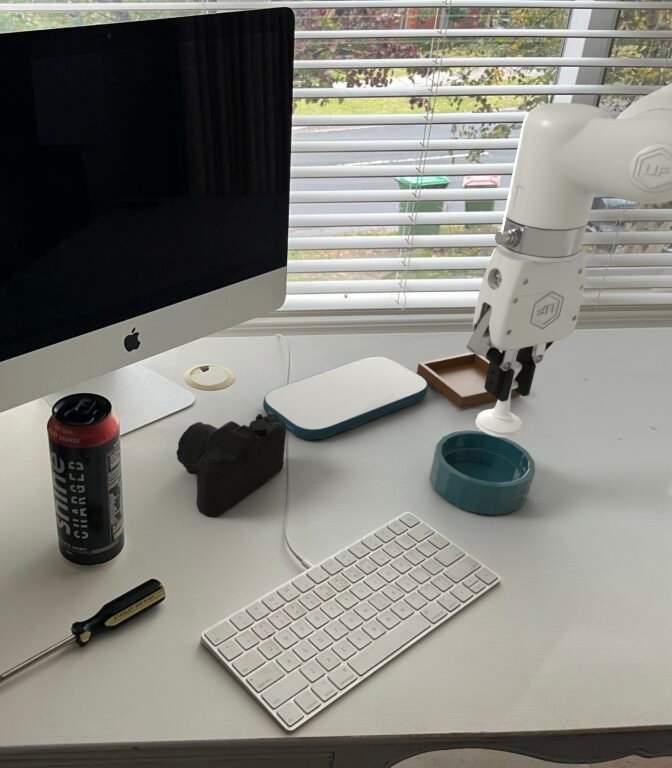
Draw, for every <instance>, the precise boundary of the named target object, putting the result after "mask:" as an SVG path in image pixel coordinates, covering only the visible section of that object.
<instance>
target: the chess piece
mask: <svg viewBox="0 0 672 768" xmlns="http://www.w3.org/2000/svg"><path fill="white" fill-rule="evenodd" d="M517 354H518V349H516V350H515V353H514V357H513V361H512V365H511V367H510V368H512V369H513V370H514V376H513V381H512V385H511V390H512V389H516V388H517V387H518V382H517V381H516V380H514V379H515V378H516V376H517V374H518V373H519V372H520V370H521V369H522V365H521V364H520V363H519V362H517V361H516V357H517ZM511 390H510V394H509V398H508V400H507V401H503V402H501V401H500V400H498V401H496V404H495V406H494V408H489V409H485V410H482V411H480V412H479V413H478V415H477V416H476V418H475V425H476V427H477V428H478V430H479V431H483V432H485V433H487V434H489V435H492V436H496V437H502V438H507V439H509V438H513V437H514V438H515V437H517V436H519V435H520V434H521V433H522V430H523V422H522V420H521V418H520V417H518V416H517V415H516V414H514V413H512V412H511V399H512V398H511Z"/></svg>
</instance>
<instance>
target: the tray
mask: <svg viewBox="0 0 672 768" xmlns="http://www.w3.org/2000/svg"><path fill="white" fill-rule="evenodd" d="M489 362H490V361H488V360H487V359H486V358H485V357H484V356H480V355H476V354H474V353H473V352H471V351H470V352H466V353H460V354H456V355H452V356H445V357H441V358H436V359H431V360H427V361H422V362H418V364H417V369H416V374H418V375H420V376H421V377H423V378H424V379H425V380H426V382H427V385H428V386H430V387H431V388H433V390H435V391H436V392H438V393H439V394H440V395H441V396H442V397H444V398H445V399H446V400H447V401H448V402H450V403H451V404H453V405H454V406H455V407H456V408H457V409H458V410H464V409H468V408H473V407H477V406H481V405H485V404H490V403H495V402H497V401H498V399H497V398H496V397H494V396H493V395H491V394H490V393H489V392H487V391H486V390H485V387H484V386H485V381H486V377H487V372H488V367H489ZM520 396H521V395H520V394H518V393H517V392H515V391H514V390H511V399H512V398H516V397H520Z"/></svg>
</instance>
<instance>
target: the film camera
mask: <svg viewBox="0 0 672 768" xmlns="http://www.w3.org/2000/svg"><path fill="white" fill-rule="evenodd" d="M286 436H287V429H286V424H285V422H284V421H282V420H281V419H279V418H278V416H277V415H274V414H269V415H268V414H267V415H266V416H263V414H262V413H258V414H257V415H256V416H255V420H251V421H250V423H249V425H245V424H243V425H240V424H238V423H237V422H235V421H232V420H231V421H228V422H226V423H224V424H223V425H221V426H220V427H219V428H217V427H216V426H213V425H211V424H209V423H204V422H201V421H197V422H195V423H193V424H191V425H189V426H188V428H186V430H185V431H184V432H183V433H182V434H181V436H180V438H179V440H178V442H177V446H178V447H177V450H176V456H177V457H176V458H177V460H178V462H179V463H180V464H181V465H182V466H183V467H184V468H185V471H186V472H187V473H188V474H189V475H196V502H195V504H196V507H197V510H198V512H199V513H200V514H202V515H204V516H206V517H210V518H214V517H215V518H216V517H219V516H221V515H222V514H225V512H227V511H229V510H231V509H232V508H234V506H236V505H238V504H239V503H240V502H241V501H243V500H244V499H246V498H247V497H248V496H250V495H252V494H253V493H254V492H256V491H257V490H258V489H260V488H261V487H262V486H264V485H265V484H267V483H268V482H269V481H270V480H272V478H274V477H276V475H278V474H279V473H280V472H281V471H282V470H283V468H284V463H285V462H284V458H285V450H286V448H285V447H286V439H287V437H286Z"/></svg>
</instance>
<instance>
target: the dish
mask: <svg viewBox="0 0 672 768" xmlns="http://www.w3.org/2000/svg"><path fill="white" fill-rule="evenodd" d="M535 472H536V464H535V460H534V458H533V457H532V455H531V454H530V453H529V451H528V450H527V449H525V448H524V447H523V446H522V445H520V444H519V443H517V442H516V441H513V440H512V439H509V438H502V437H496V436H492V435H489V434H487V433H485V432H483V431H481V430H474V429H473V430H472V429H467V430H458V431H453V432H450V433H447V434H445V435H443V436H441V438H439V440H438V441H437V442H436V444H435V448H434V453H433V458H432V463H431V466H430V472H429V481H430V484H431V485H432V488H433V490H434V491H435V492H437V494H438V495H439V496H440V497H442V499H444V500H445V501H447V502H448V503H449V504H451V505H453V506H454V507H456V508H459V509H461V510H463V511H467V512H471V513H473V514H474V513H475V514H479V515H487V516H488V515H489V516H491V515H493V516H495V515H502V514H510V513H512V512H514V511H516V510H519V508H521V507H522V506H523V505H524V503H525V502H526V501H527V499H528V496H529V493H530V490H531V486H532V483H533V480H534V477H535Z"/></svg>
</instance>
